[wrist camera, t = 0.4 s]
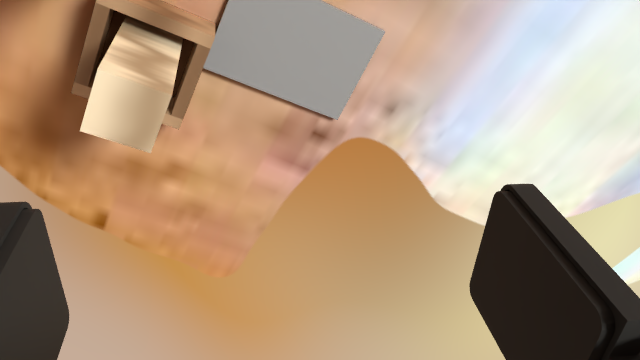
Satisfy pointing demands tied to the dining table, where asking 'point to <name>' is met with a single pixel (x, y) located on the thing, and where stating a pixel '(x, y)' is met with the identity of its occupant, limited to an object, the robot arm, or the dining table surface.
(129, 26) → the block
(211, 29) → the pocket
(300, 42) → the pad
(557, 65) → the dining table surface
